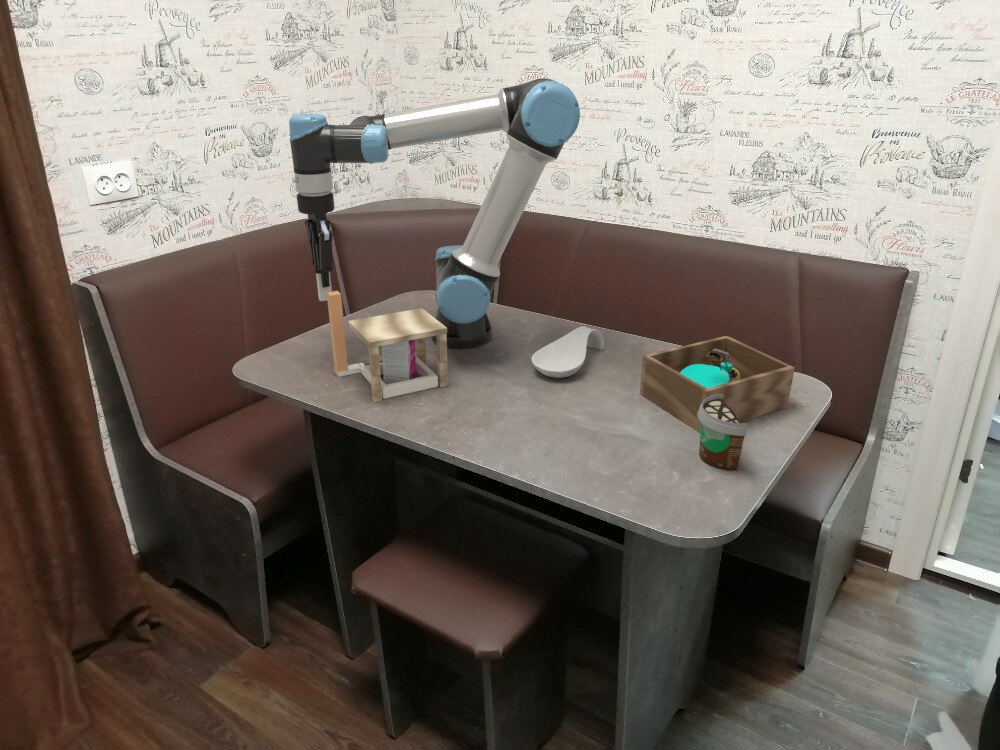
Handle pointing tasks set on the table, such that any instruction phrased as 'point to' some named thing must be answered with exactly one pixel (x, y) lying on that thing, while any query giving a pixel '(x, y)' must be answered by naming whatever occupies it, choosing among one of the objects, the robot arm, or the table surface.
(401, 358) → the supplement box
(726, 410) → the food container
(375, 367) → the small wooden stool
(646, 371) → the teapot crate
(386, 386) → the sled
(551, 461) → the table surface
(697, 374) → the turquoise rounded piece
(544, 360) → the spoon rest
